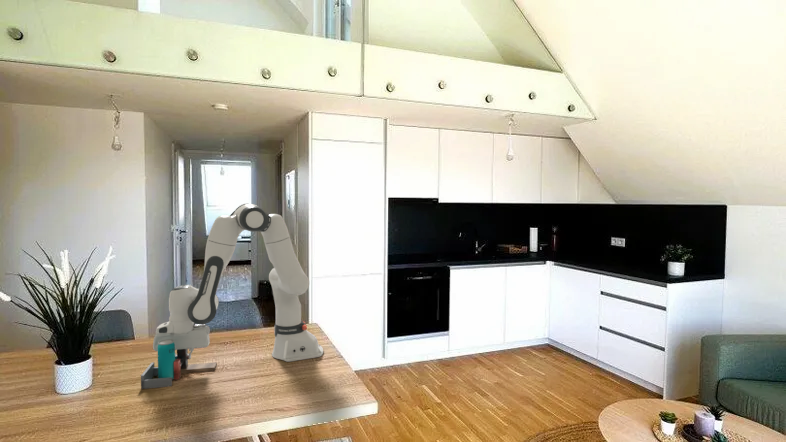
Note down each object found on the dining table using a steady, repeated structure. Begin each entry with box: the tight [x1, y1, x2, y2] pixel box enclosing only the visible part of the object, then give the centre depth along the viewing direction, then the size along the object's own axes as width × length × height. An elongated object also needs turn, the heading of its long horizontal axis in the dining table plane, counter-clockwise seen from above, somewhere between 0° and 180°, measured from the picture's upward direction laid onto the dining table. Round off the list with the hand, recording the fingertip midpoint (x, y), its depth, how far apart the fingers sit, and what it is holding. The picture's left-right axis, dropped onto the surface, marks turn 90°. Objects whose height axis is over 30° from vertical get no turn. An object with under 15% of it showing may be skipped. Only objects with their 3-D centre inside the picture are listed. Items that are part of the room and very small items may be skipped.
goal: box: [140, 362, 173, 390], centre depth 156 cm, size 10×12×5 cm
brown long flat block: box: [181, 361, 218, 374], centre depth 167 cm, size 16×5×1 cm, turn 104°
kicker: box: [173, 349, 189, 381], centre depth 161 cm, size 3×11×9 cm, turn 14°
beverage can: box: [157, 339, 176, 381], centre depth 156 cm, size 6×6×15 cm
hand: (182, 359), depth 165 cm, fingers open, 3 cm apart
